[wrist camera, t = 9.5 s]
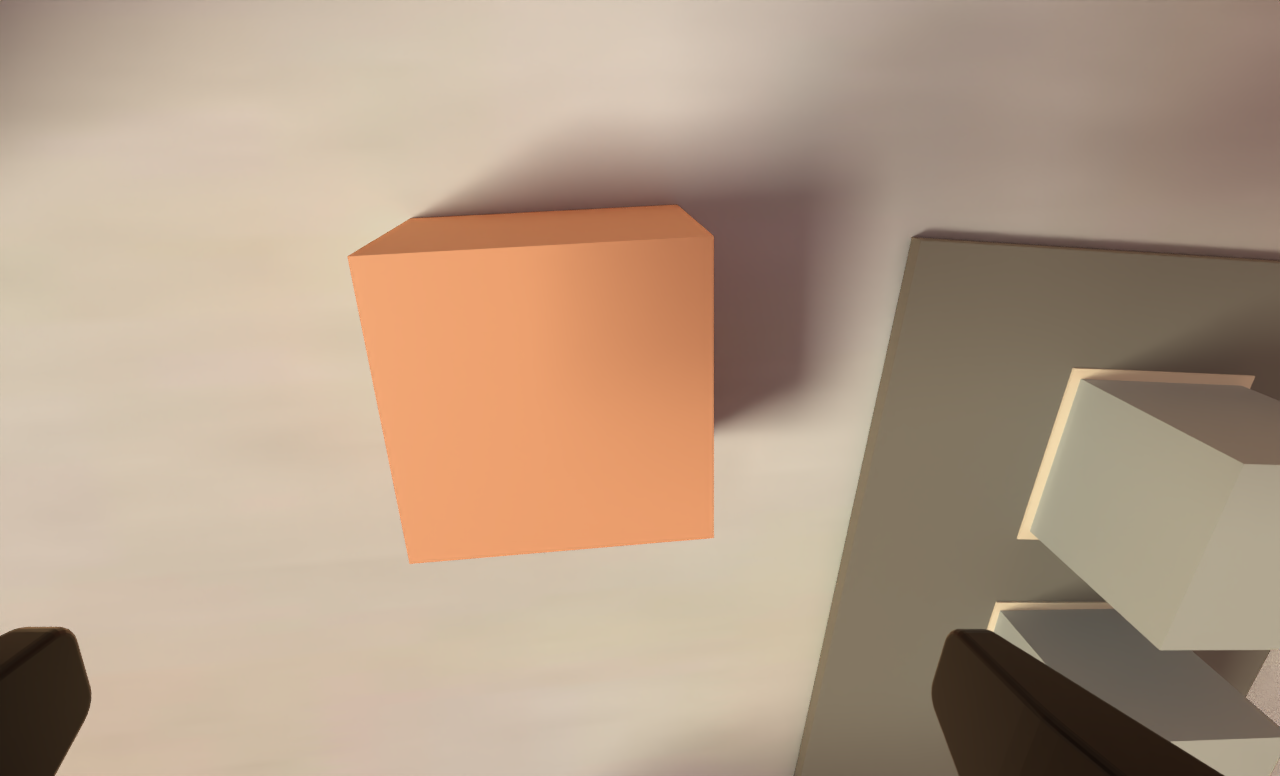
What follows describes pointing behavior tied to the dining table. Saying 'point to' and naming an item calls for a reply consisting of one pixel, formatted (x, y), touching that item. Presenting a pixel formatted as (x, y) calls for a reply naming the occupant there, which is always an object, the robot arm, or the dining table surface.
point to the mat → (1001, 461)
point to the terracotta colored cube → (544, 378)
